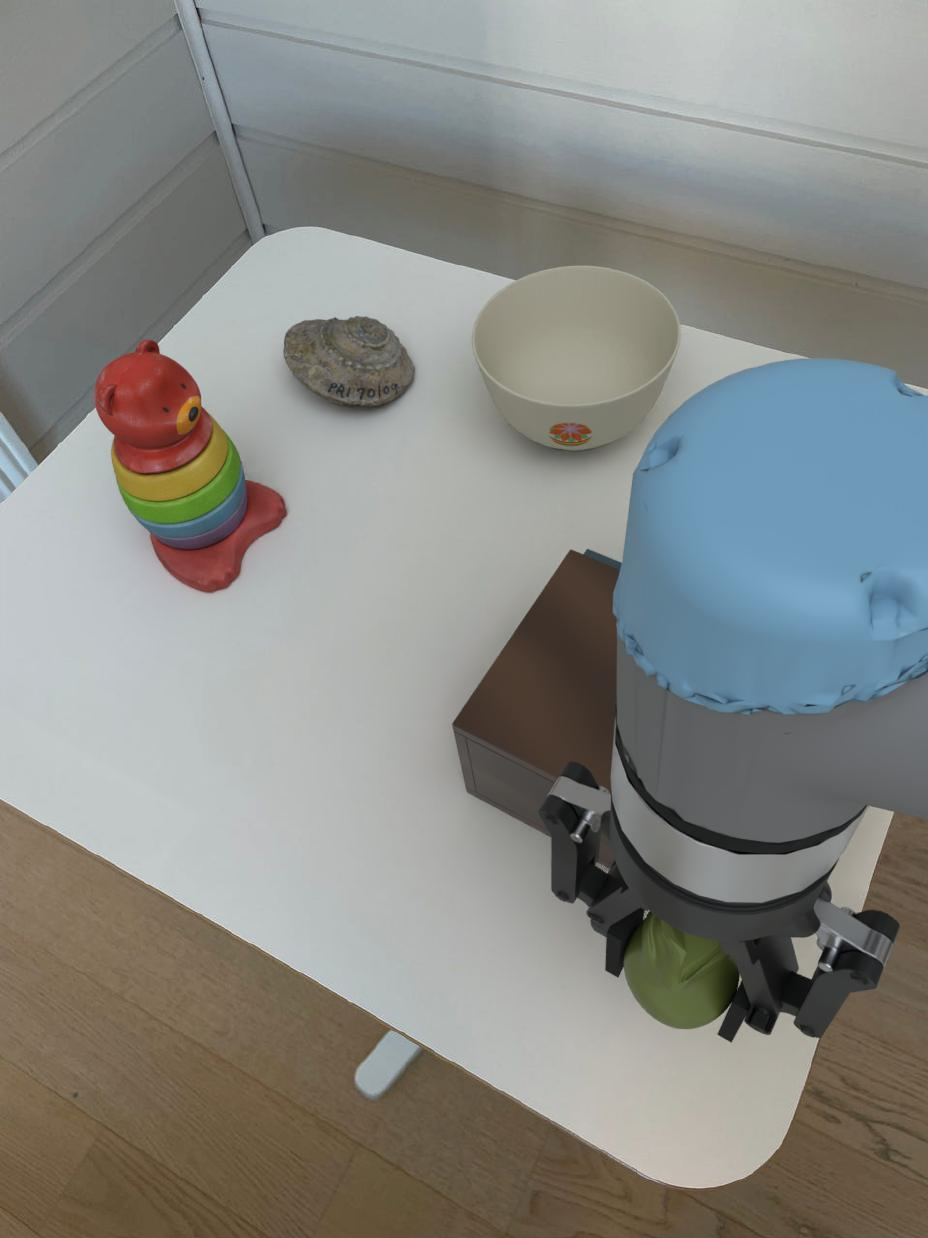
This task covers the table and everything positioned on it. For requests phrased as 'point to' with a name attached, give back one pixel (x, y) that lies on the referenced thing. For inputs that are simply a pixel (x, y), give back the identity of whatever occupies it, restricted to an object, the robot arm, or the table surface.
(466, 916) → the table surface
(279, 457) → the table surface
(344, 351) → the fossilized seashell
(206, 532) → the stacking bear
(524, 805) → the cabinet
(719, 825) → the robot arm
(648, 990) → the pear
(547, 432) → the bowl
